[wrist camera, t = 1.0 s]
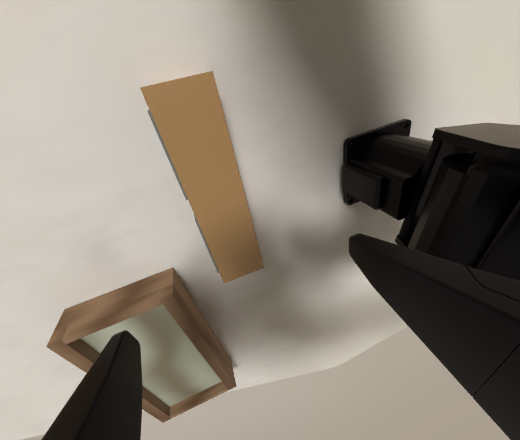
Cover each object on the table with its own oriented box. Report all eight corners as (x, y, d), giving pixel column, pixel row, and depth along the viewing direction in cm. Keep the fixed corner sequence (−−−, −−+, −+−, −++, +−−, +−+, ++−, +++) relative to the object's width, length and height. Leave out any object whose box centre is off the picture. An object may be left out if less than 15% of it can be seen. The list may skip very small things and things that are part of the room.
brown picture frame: (172, 267, 20) (172, 295, 17) (230, 360, 30) (236, 386, 27) (64, 309, 18) (46, 346, 16) (163, 391, 28) (162, 422, 26)
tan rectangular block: (204, 74, 14) (212, 71, 11) (251, 243, 22) (263, 267, 19) (144, 88, 13) (136, 88, 10) (215, 257, 21) (222, 283, 18)
